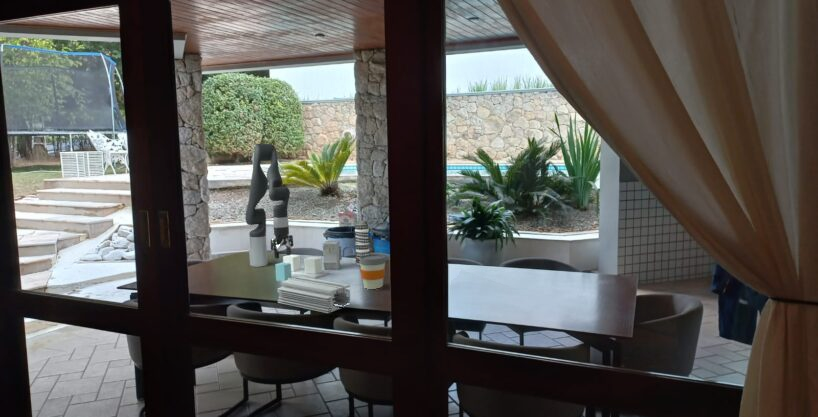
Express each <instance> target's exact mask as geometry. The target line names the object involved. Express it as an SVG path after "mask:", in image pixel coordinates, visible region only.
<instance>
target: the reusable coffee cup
mask: <svg viewBox="0 0 818 417" xmlns="http://www.w3.org/2000/svg"><path fill="white" fill-rule="evenodd" d="M386 263H387V262H386V256H385V255H383V254H378V253H377V254H370V255H364V256H361V257H360V265H359V266H360V274H361V279H362V282H363V287H364V289H365V288H367V289H366V290H368V289H376V288H380V287H382V286H383V287H384V278H385V274H386V267H385V265H386ZM383 287H382V288H383ZM376 290H377V289H376Z"/></svg>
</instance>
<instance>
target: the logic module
mask: <svg viewBox="0 0 818 417" xmlns="http://www.w3.org/2000/svg"><path fill="white" fill-rule="evenodd" d="M274 266H275V280H276V281H277V282H282V281H286V280H288V278H292V276H291V263H283V262H280V263H279V262H278V263H275V265H274Z"/></svg>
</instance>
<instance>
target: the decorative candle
mask: <svg viewBox="0 0 818 417" xmlns="http://www.w3.org/2000/svg"><path fill="white" fill-rule="evenodd" d="M354 228H355V229H354V230H353V234H354V245H355V264H356V266H361V265H360V257H361V256H364V255H371V251H370V244H371V243H370V241H371V238H369V237H371V235H370V234H371V233H370V229H369V222H368V221H367V220H365V219H364V220H357V221H356V222H355V223H354Z"/></svg>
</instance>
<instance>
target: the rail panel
mask: <svg viewBox="0 0 818 417" xmlns="http://www.w3.org/2000/svg"><path fill="white" fill-rule="evenodd" d="M303 260H304V262H303V263H304V268H303V267H302V263H301V255H300V254H299V255H298V254H291V255H287V254H286V255H285V256H284V255H283V256H282V263H291V277H306V278H312V279H317V278H318V279H319V278H320V277H323V276H326V275H329V274H330V272H329V271H330V270H323V257H319V256H309V257H306V258H303Z"/></svg>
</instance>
